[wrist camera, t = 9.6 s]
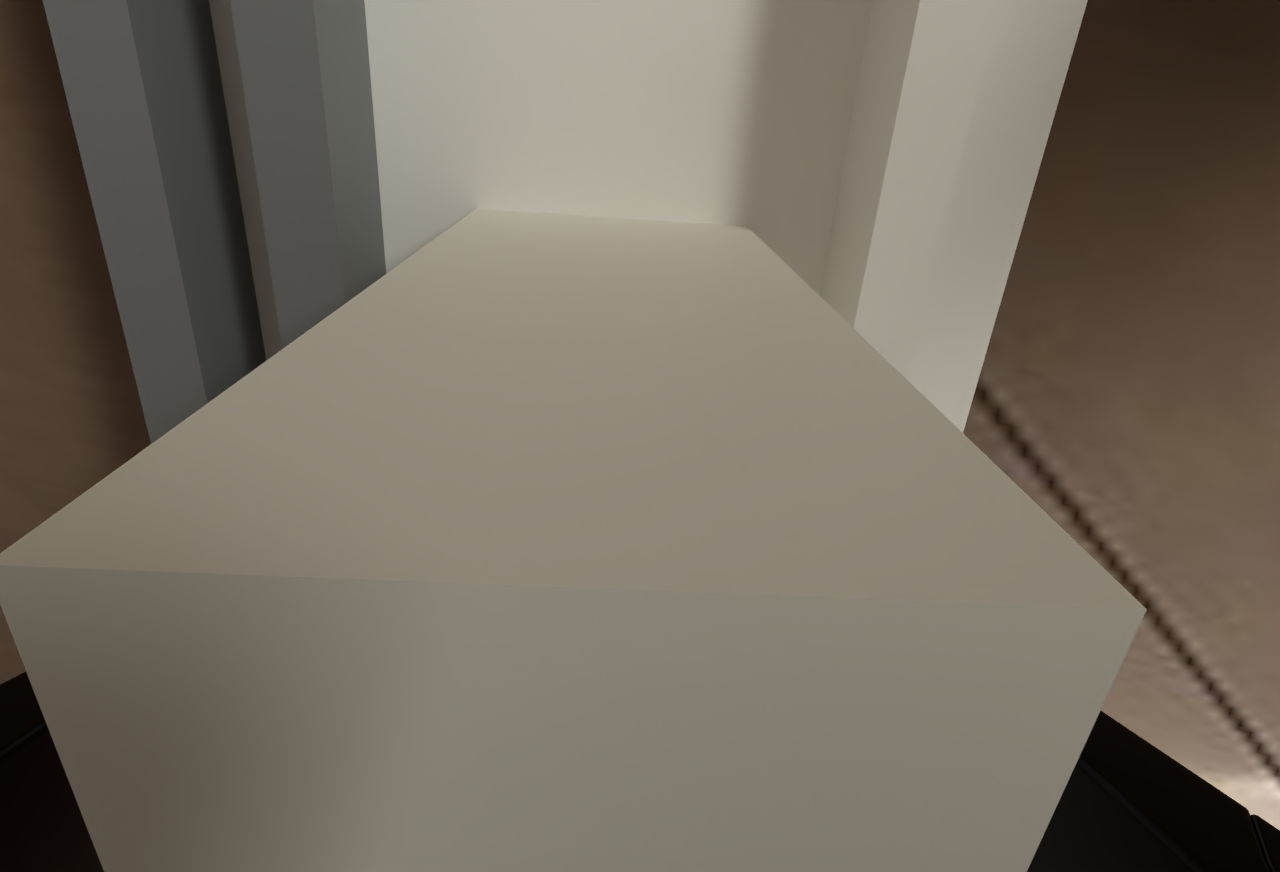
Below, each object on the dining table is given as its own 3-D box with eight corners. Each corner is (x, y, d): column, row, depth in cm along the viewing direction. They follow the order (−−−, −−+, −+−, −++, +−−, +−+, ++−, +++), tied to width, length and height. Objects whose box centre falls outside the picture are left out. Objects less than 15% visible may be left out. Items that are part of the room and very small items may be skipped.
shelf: (138, -220, 10) (-71, -362, 7) (1071, -130, 11) (1250, -221, 8) (309, 752, 19) (246, 883, 16) (835, 767, 20) (877, 895, 16)
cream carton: (746, 226, 12) (1146, 609, 3) (694, 644, 16) (795, 1380, 7) (467, 207, 12) (-59, 562, 3) (482, 637, 15) (287, 1387, 6)
